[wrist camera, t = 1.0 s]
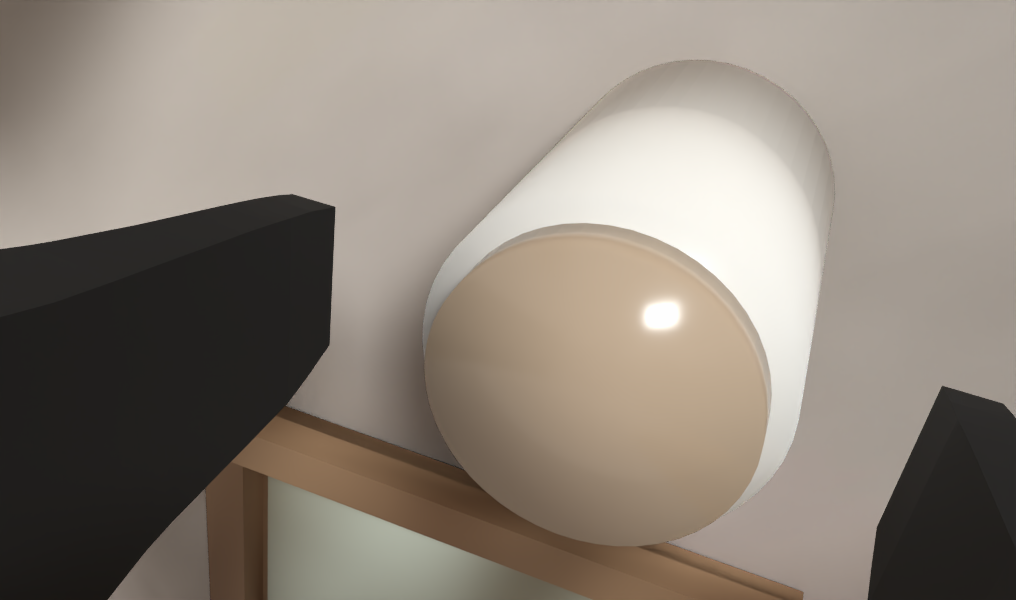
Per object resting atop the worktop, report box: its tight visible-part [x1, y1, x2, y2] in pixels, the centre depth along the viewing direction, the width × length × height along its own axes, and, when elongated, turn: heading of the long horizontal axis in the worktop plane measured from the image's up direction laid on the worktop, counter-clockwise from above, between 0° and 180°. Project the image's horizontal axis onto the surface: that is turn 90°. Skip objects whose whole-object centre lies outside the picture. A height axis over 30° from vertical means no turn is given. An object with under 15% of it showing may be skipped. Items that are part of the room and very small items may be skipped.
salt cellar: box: [422, 60, 835, 546], centre depth 13 cm, size 4×4×7 cm
